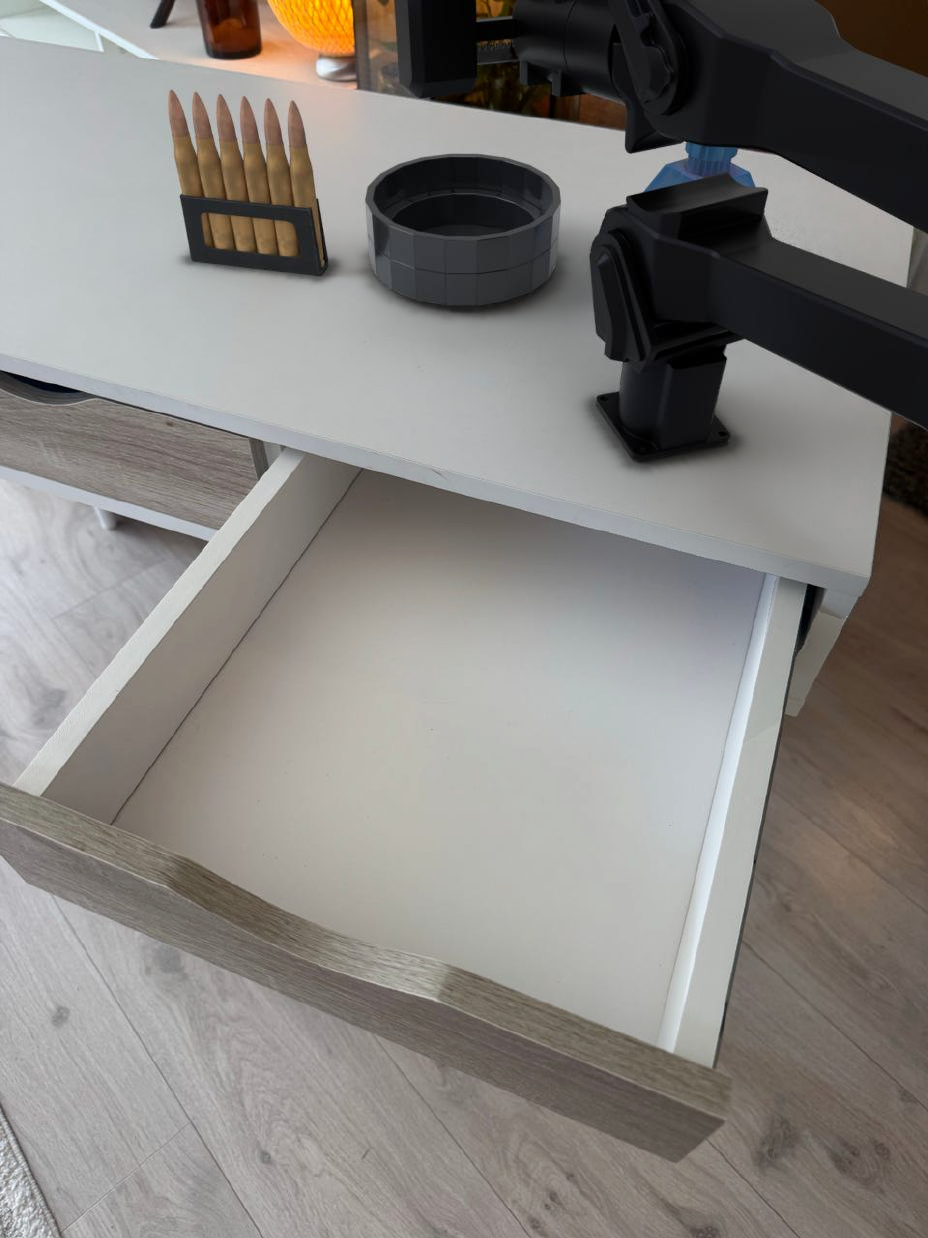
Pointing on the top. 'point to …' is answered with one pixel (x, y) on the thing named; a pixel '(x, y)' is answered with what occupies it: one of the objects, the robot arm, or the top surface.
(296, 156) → the ammunition clip
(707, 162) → the perfume bottle
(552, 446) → the top surface
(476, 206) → the bowl
